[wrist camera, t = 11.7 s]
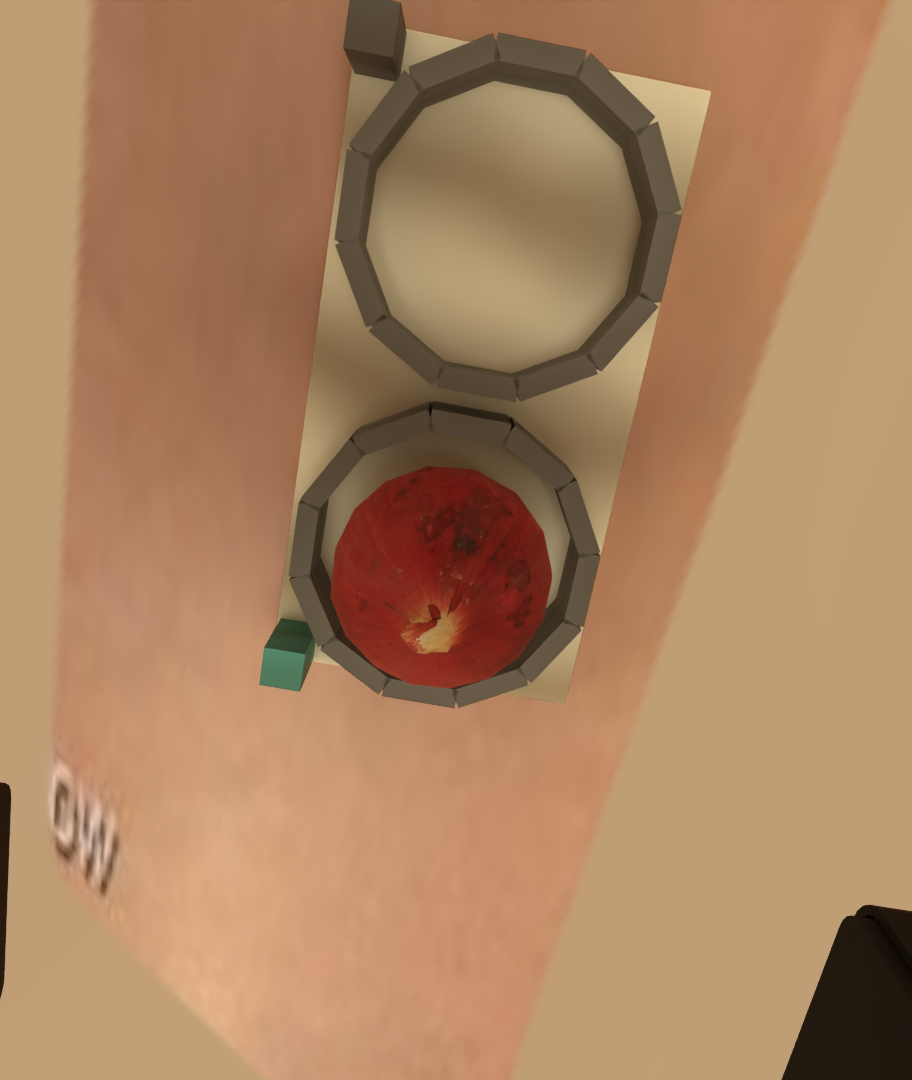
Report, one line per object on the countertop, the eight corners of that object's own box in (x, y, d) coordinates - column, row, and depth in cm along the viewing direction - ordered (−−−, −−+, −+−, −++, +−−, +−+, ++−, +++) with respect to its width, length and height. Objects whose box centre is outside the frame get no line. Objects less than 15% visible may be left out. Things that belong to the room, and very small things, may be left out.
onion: (405, 412, 25) (380, 454, 18) (573, 503, 26) (620, 582, 18) (319, 577, 27) (260, 683, 19) (481, 659, 27) (488, 795, 19)
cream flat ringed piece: (364, 36, 24) (347, -14, 20) (696, 103, 24) (740, 66, 21) (282, 637, 29) (255, 687, 25) (559, 684, 29) (574, 740, 25)
